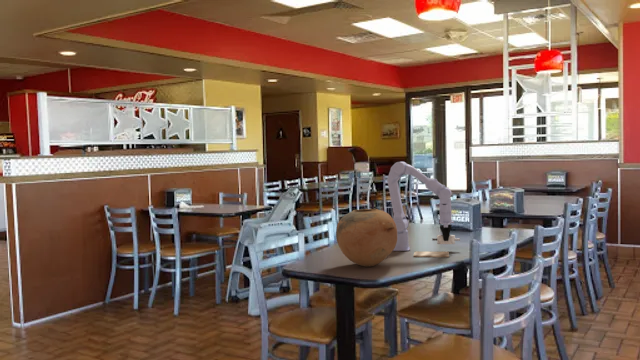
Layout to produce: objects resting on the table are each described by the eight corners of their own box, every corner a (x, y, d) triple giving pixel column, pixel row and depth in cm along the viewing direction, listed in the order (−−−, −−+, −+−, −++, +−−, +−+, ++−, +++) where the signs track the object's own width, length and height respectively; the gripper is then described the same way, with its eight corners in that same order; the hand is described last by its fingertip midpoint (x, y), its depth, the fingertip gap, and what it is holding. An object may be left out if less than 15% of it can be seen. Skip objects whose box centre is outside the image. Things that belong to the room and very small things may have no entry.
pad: (413, 257, 261) (413, 255, 261) (414, 253, 271) (414, 251, 271) (448, 257, 258) (448, 255, 258) (448, 253, 268) (448, 251, 268)
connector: (432, 244, 273) (432, 236, 273) (432, 242, 277) (432, 234, 276) (460, 244, 270) (460, 236, 270) (460, 243, 274) (459, 234, 274)
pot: (320, 266, 248) (318, 210, 246) (361, 256, 266) (359, 204, 265) (375, 276, 225) (373, 214, 224) (415, 264, 244) (413, 207, 243)
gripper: (454, 214, 265) (454, 242, 266) (453, 210, 279) (454, 237, 280) (438, 214, 266) (439, 242, 267) (439, 210, 280) (439, 237, 281)
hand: (446, 240), depth 273 cm, fingers closed on connector, 3 cm apart
